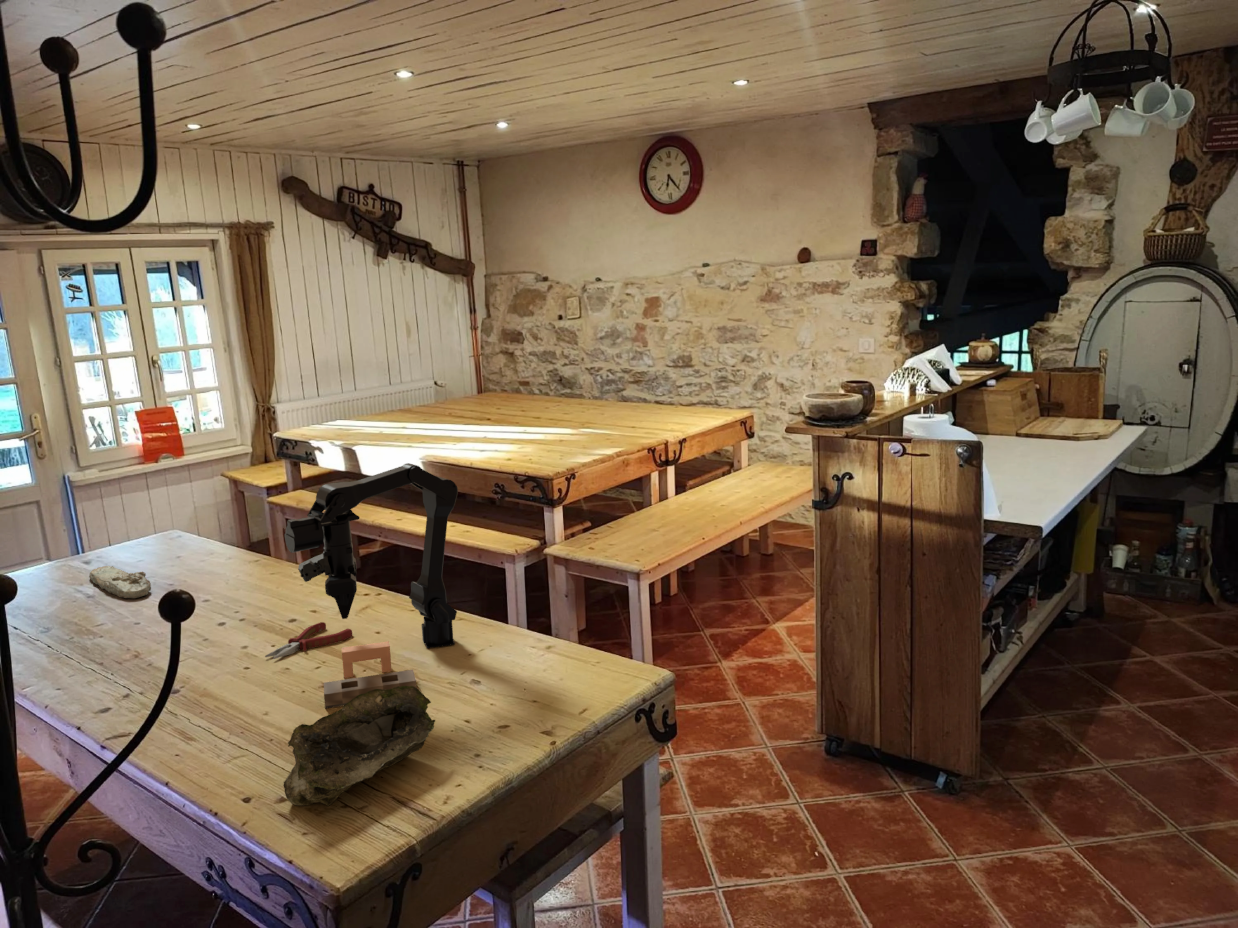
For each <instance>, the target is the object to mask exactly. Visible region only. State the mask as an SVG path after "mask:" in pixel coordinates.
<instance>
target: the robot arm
mask: <svg viewBox="0 0 1238 928" xmlns="http://www.w3.org/2000/svg"><path fill="white" fill-rule="evenodd" d="M410 484H411V485H413V486H414V487H415V488H417V489H419V490H420V491H422V502H423V506H424V509H425V513H426V522H425V531H424V542H423V552H422V563H421V564H422V565H421V573H420V576H419V577H418V580H417V581H411V583H410V595H409V596H408V599H410V600H411V601H410V602H411V605H412V607H413V608H414V609H415V610H417V611H418V612H419V615H420V616H423V622H422V624H421V634H422V636H421V638H422V642H423V644H425V647H426V649H433V648H440V647H441V648H442V647H447V646H454V645H455V644H456V643H455V640H454V631H453V628H454V627H453V621H455V620H456V618H457V614H458V613H457V612H458V611H457V610H456V609H455V608H454V607H453V606H451V605H449V604H448V602H447V591H446V586H445V583H444V580H443V569H444V568H443V567H444V558H445V549H446V540H447V539H446V537H447V530H448V529H447V528H448V519H449V516H450V514H451V513H452V511H453V510H454V507H455V505H456V501H457V497H458V493H459V492H458V491H459V488H458V486H457V484H456V483H455V481H453V480H451V479H448V478H445V477H443V476H438V475H435V474H432V473H430V472H428V471H426V470H425V469H423V468H422V467H420V465H416V464H413V463H408V462H407V463H404V464H403V465H401V466H398V467H395V468H391V469H388V470H386V471H382V472H380V473H377V474H373V475H370V476H368V477H367V476H366V477H365V478H362V479H358V480H354V481H339V482H332V483H326V484H323V485H321V486H320V487H319V488H318V490H317V492H316V497H315V500H314V502H313V504H312V505H311V507H310V509H309V511H308V513H307V514H306V515H307V517H302V518H296V519H295V518H292V519H288V520H287V521H286V523H287V526H285V527H286V528H285V533H284V540H285V545H286V547H287V550H288V551H289V552H290V553H291V554H292V553H293V554H294V553H299V552H302V551H306V550H307V551H308V550H311V549H312V550H313V549H316V548H319V547H320V546H321V545H324V546H323V552H322V553H321V554H319V555H315V556H314V557H312V558H309V559H307V560H305V561H303V562H301V563H299V565H298V572H299V574H300V577H301V578H302V579H303V581H304V582H305V583H308V582H310V581H311V580H313V579H314V578H316V577H318V576H320V575H323V574H324V576H328V577H327V578H326V580H325V582H324V583H325V584H324V588H325V595H327V596H329V597H331V598H333V599H334V600H335V602H336V605H337V607H338V611H339V614H340V617H341V619H342V620H345V619H348V618H349V615H350V612H351V609H352V608H351V607H352V605H353V602H354V599H355V596H356V593H357V590H358V587H357V560H356V559H357V558H355V556H354V549H353V548H354V547H353V539H352V530H351V522H352V521H359V520H360V516H359V515H357V514H356V513H355V512H354V511H353V510H352V509H354V508H356V507H357V506H358V505H359V504H361V503H362V502H364V501H365V500H366V499H369V498H372V497H375V496H378V495H381V494H384V493H387V492H390V491H393V490H395V489H398V488H399V489H400V488H402V487H405V486H407V485H410Z"/></svg>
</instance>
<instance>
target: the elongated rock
mask: <svg viewBox="0 0 1238 928" xmlns="http://www.w3.org/2000/svg"><path fill="white" fill-rule="evenodd" d="M146 576H147V574H146V572H144V571H137V572H126V571H124V570H122V569H120V568H116V567H115V566H114V565H112V566H110V565H105V566H100V567H99V566H98V567H97V568H93V569H92V570H91V571H90V572H89V576H88V578H89V580H91V581H92V583H93V584H95V585H96V586H99V587H100V589H101V590H105V591H106V592H107V593H109V594H112V595H114V596H117V597H119V599H120V598H121V599H122V598H123V599H124V598H125V599H136V598H141V597H143V596H147V595H149V592H151V590H152V585H151V581H150V580H149V579H147V578H146Z"/></svg>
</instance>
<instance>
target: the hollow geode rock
mask: <svg viewBox="0 0 1238 928" xmlns="http://www.w3.org/2000/svg"><path fill="white" fill-rule="evenodd" d="M431 703H432V701H431V700H430V699H429V698H428V697H427V696H426V695H424V693H423V692H422V691H420V690H419V688H417V686H416V687H414V686H401V687H399V686H397V687H394V688H392V689H388V690H382V689H374V690H372V691H368V692H366V693H365V694H360V695H358V696H357V697H355V698H354V699H352V700H351V701H350V702H348V703H347V704H345V705H344V706H342V708H340V709H339V710H336V711H335V712H333V713H331V714H328V715H325V716H322V717H320V718H319V719H317V720H316V721H315V722H314V723H313V724H306V723H302V724H300V725H298V726H297V727H295V728H294V729H293V731H292V733H291V737H290V739H289V740H288V741H287V744H288V745H287V747H292V754H293V757H294V760H295V764H294V766H293V767H292V769H291V770H290V772H289V773H288V775H287V777H286V778H285V780H284V781H283V788H284V794H285V798H286V799H287V801H288V802H289V803H291V804H292V805H295V806H309V805H312V804H316V803H317V804H318V803H321V804H324V805H326V806H328V807H329V806H330V805H332V804H333V803H334V802H335V801H336V800H337V798H339V797H340V796H341V794H342V793H344V792H347V791H348V790H349V789H350V788H351V787H352V786H354V785H356V784H358V783H360V782H363V781H366V780H369V779H370V778H373V777H374V775H375V774H376V773H378V772H379V771H381V770H383V769H386V768H390V767H391V766H393V765H395V764H396V763H399V762H401V761H402V760H403V759H405V758H406V757H408V756H409V755H411V754H412V753H415V752H417V751H419V750H421V749H422V748H423V746H424V745H425V742H426V741H427V738H428V737H429V734H430V733H431V732H432V731H433V730H434V728H435V727H434V726H435V723H436V719H432V717H430V715H429V713H428V711H427V709H428V708H429V706H428V705H429V704H431Z"/></svg>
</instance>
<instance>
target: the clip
mask: <svg viewBox="0 0 1238 928" xmlns="http://www.w3.org/2000/svg"><path fill="white" fill-rule="evenodd" d="M341 658H342V659H341V660H342V661H341V662H342V670H343V678H344V679H350V678H355V677H354V665H353V663H358V662H367V661H371V660H378V659H379V660H380V665H381V667H380V668H381V672H382V673H381V674H384V673H390V672H392V659H391V658H392V656H391V646H390V641H389V640H388V641H382V642H381V641H380V642H373V643H368V644H367V643H366V644H358V645H351V646H344V647H341Z"/></svg>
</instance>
